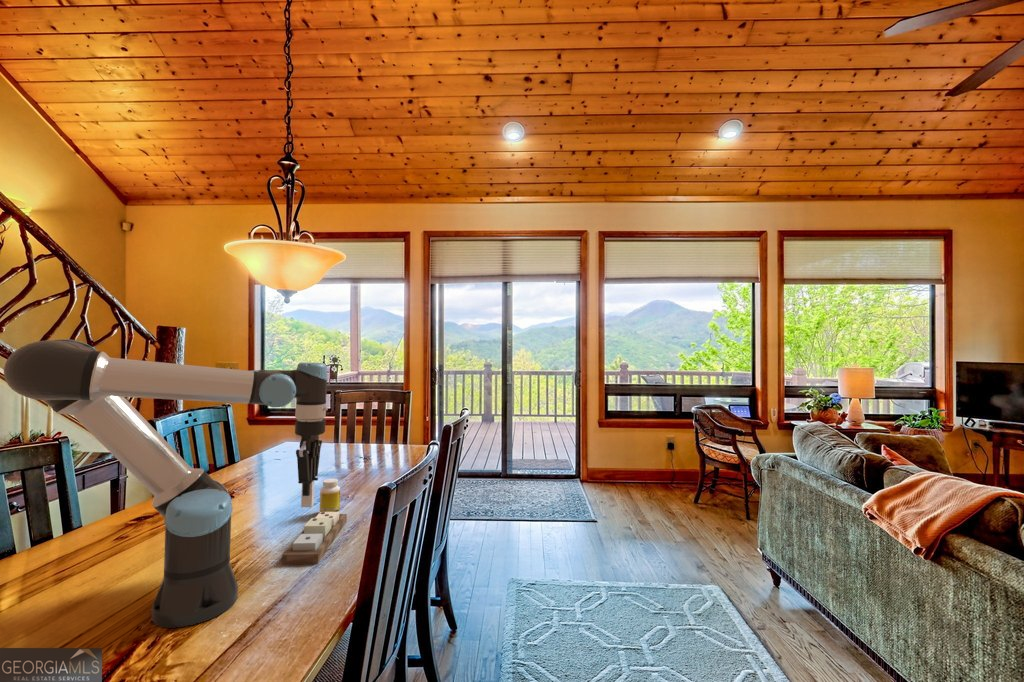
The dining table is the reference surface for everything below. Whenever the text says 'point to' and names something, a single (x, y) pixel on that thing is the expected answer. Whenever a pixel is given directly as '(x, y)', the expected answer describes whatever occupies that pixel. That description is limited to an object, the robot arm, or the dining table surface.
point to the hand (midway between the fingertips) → (307, 506)
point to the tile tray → (314, 555)
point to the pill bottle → (330, 496)
